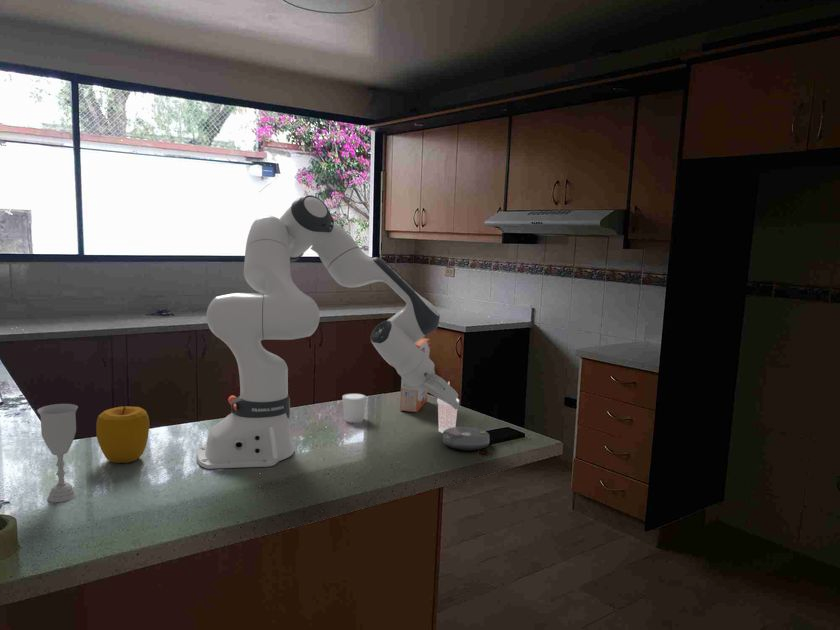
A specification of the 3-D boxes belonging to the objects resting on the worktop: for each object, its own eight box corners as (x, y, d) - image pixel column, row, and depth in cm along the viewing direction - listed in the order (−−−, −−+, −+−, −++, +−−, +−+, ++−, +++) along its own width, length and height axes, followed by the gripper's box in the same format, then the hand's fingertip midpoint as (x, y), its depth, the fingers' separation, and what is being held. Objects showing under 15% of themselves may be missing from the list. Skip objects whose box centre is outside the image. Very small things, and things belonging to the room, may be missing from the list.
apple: (98, 473, 133) (96, 416, 132) (96, 456, 143) (93, 403, 141) (153, 464, 139) (152, 410, 137) (147, 449, 148) (145, 398, 146)
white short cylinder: (364, 423, 174) (364, 399, 173) (340, 422, 174) (340, 398, 173) (366, 416, 181) (367, 393, 180) (343, 415, 181) (344, 392, 180)
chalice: (87, 497, 122) (83, 409, 119) (49, 507, 116) (44, 416, 114) (73, 486, 126) (70, 401, 124) (36, 496, 121) (31, 408, 119)
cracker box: (418, 413, 185) (420, 345, 182) (399, 411, 187) (401, 344, 184) (428, 401, 199) (430, 338, 196) (410, 399, 200) (412, 336, 197)
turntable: (454, 455, 151) (455, 443, 151) (435, 439, 162) (435, 428, 162) (497, 450, 155) (497, 439, 155) (476, 435, 166) (476, 424, 166)
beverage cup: (460, 429, 172) (462, 380, 170) (454, 435, 166) (456, 385, 164) (439, 426, 174) (441, 378, 172) (433, 432, 168) (434, 383, 166)
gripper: (443, 369, 155) (475, 403, 160) (410, 354, 173) (439, 385, 179) (427, 388, 154) (459, 421, 159) (395, 370, 172) (425, 401, 177)
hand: (448, 402), depth 169 cm, fingers open, 8 cm apart
